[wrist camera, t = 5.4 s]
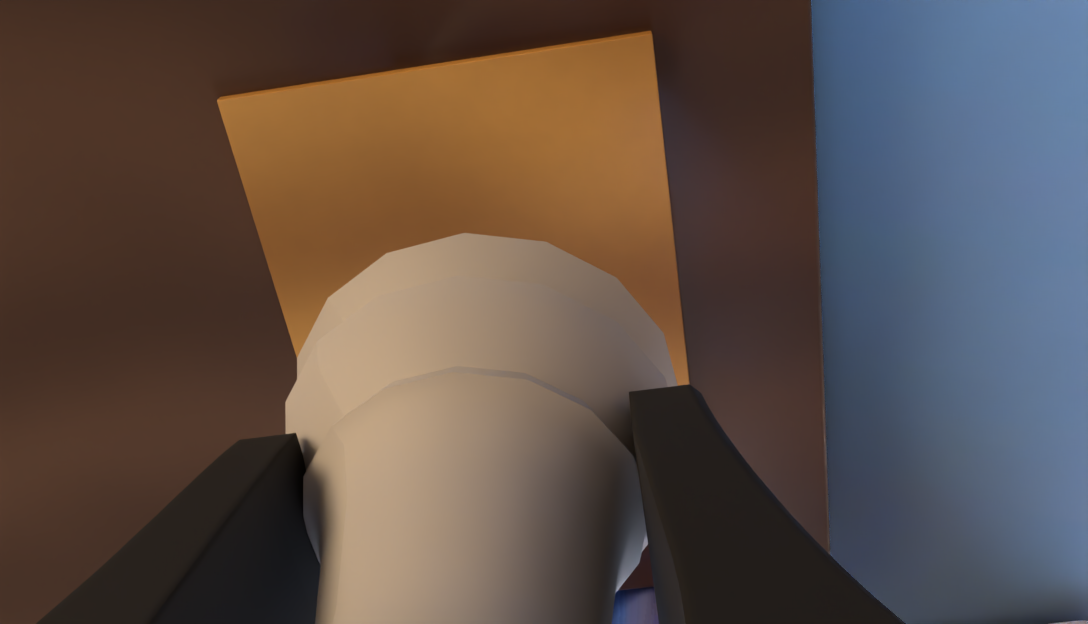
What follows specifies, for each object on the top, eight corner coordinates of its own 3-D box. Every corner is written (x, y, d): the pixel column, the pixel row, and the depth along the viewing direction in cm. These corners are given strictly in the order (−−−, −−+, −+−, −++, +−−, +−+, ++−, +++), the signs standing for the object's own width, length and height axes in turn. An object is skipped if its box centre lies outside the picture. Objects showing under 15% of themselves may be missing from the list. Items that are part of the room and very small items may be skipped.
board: (821, 536, 22) (834, 576, 21) (-59, 636, 24) (-87, 677, 23) (792, -176, 16) (809, -170, 15) (-414, 28, 17) (-476, 45, 16)
